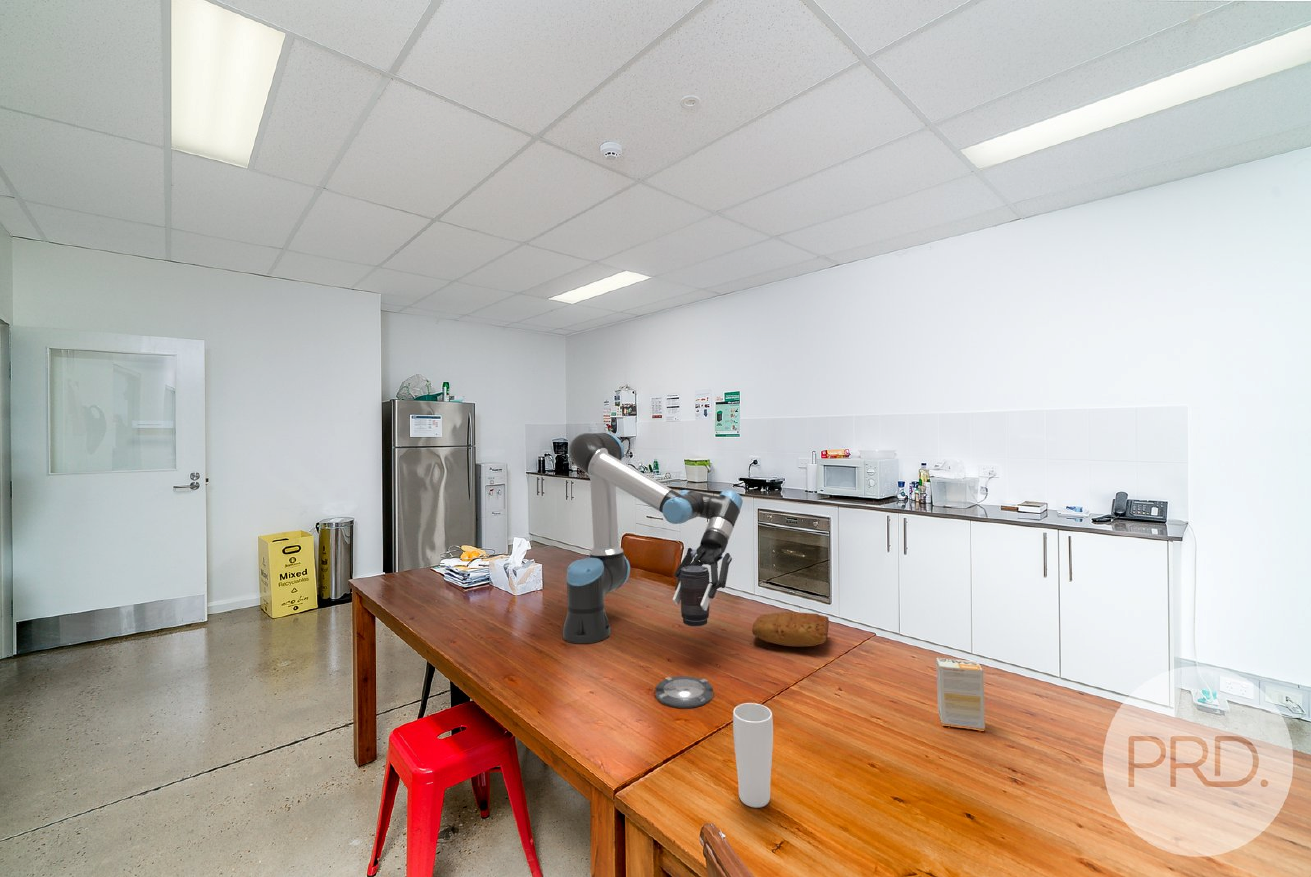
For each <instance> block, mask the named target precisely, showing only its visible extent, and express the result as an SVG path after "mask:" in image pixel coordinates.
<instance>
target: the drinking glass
mask: <svg viewBox="0 0 1311 877" xmlns="http://www.w3.org/2000/svg"><path fill="white" fill-rule="evenodd" d="M732 713H733V714H732V730H733V731H732V734H733V746H734V753H735V754H734V755H735V763H736V773H737V782H738V785H737V786H738V797H739V799H740V800H741V803H743V804H744V805H746V806H747V807H750V808H756V809H758V808H763V807H765V806H767V805H768V804H769V802H770V801H771V777H772V775H771V774H772V761H773V760H772V759H773V747H774V746H773V744H774V724H773V723H774V722H773V721H774V720H773V713H772V710H771V709H770V708H768V707H767V706H765V705H763V704H760V703H756V702H745V703H741V704H738V705H737V706H735V707H734V709H733V712H732Z"/></svg>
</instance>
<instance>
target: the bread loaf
mask: <svg viewBox="0 0 1311 877" xmlns="http://www.w3.org/2000/svg"><path fill="white" fill-rule="evenodd" d="M829 623H830V619H829V617H828V616H825V615H821V614H818V613H812V612H811V613H808V612H796V611H795V612H793V611H789V612H788V611H784V612H783V611H781V612H776V613H775V612H774V613H768V614H761V615H760V616H758V617H757V618H756V619H755V621H754V622H753V624H752V627H751V628H752V630H751V632H752V635H753V636H755V637H756V638H758V639H760V640H761V641H765V642H766V643H770V644H771V643H772V644H776V645H781V646H785V647H786V646H787V647H799V648H800V647H815V646H817V645H819V646H820V645H822V644H824V643H825V642H826V641H827V638H828V635H829V626H830V624H829Z"/></svg>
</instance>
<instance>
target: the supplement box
mask: <svg viewBox="0 0 1311 877" xmlns="http://www.w3.org/2000/svg"><path fill="white" fill-rule="evenodd" d="M935 661H936V662H935V664H936V687H937V690H936V691H937V714H939V716H938V718H939V717H940V719H939V721H940V720H941V721H940V723H941V722H942V724H944V725H950V726H951V725H953V726H962V727H970V728H976V729H980V730H985V731H986V713H985V711H986V710H985V685H984V670H983V668H982V667H981V665H980V663H979V662H978V661H975V660H974V661H973V660H965V659H954V658H945V657H936V660H935ZM942 724H941V725H942Z"/></svg>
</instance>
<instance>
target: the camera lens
mask: <svg viewBox="0 0 1311 877" xmlns="http://www.w3.org/2000/svg"><path fill="white" fill-rule="evenodd" d="M708 584H711V582H710V571H709V567H707V566H704V565H702V566H686V567H683V568H681V573H680V586H681V600H680V611H681V612H680V613H681V614H680V615H681V618H682V622H683V624H685V625H686V626H689V627H702V626H705V625H707V624H708V618H709V617H710V604H709V605H708V608H707V610H706V611H705V610H703V608H702V607H701V602H702V599H703V597H704V594H705V592H706V589H707V586H708Z"/></svg>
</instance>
